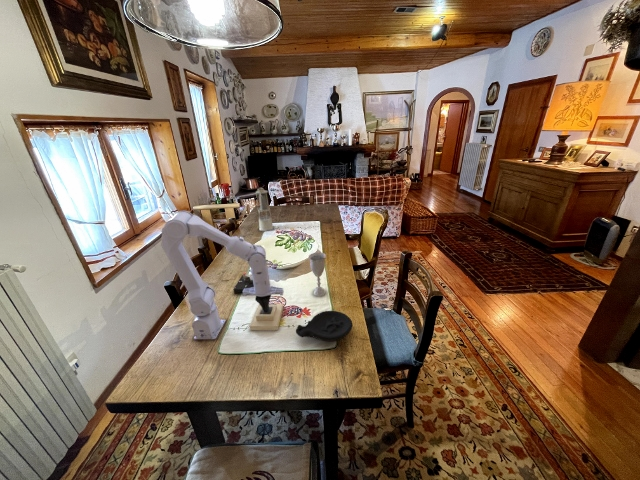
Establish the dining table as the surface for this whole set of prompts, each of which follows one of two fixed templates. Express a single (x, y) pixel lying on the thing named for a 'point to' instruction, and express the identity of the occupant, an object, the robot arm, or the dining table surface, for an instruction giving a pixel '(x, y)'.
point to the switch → (267, 312)
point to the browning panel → (242, 286)
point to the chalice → (318, 270)
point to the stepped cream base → (267, 318)
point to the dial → (247, 278)
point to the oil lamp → (326, 326)
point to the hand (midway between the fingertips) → (266, 310)
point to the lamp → (264, 221)
